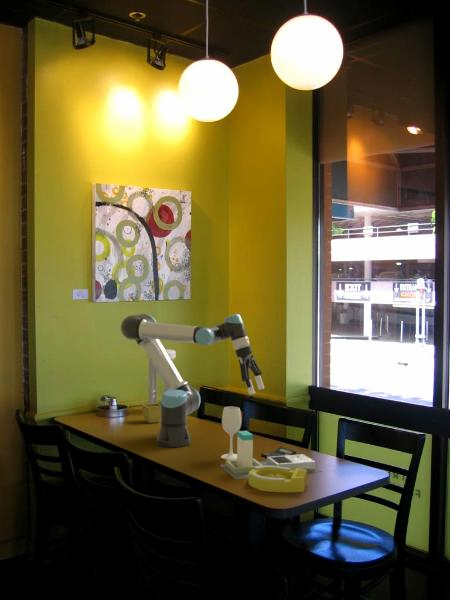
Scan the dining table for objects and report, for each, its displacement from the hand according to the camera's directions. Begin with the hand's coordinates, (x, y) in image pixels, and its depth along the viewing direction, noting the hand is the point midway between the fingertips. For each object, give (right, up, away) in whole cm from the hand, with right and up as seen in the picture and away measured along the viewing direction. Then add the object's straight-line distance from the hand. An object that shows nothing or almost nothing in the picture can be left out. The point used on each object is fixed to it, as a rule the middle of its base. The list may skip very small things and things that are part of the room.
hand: (257, 391), depth 285 cm
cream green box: (-7, -24, -39) cm, 47 cm away
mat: (+3, -25, -38) cm, 46 cm away
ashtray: (+4, -25, -57) cm, 63 cm away
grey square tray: (-7, -24, -39) cm, 47 cm away
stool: (-51, -22, +67) cm, 87 cm away
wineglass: (-12, -25, -23) cm, 36 cm away
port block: (+11, -25, -37) cm, 46 cm away
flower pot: (-53, -22, +42) cm, 71 cm away
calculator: (+8, -25, -20) cm, 33 cm away
